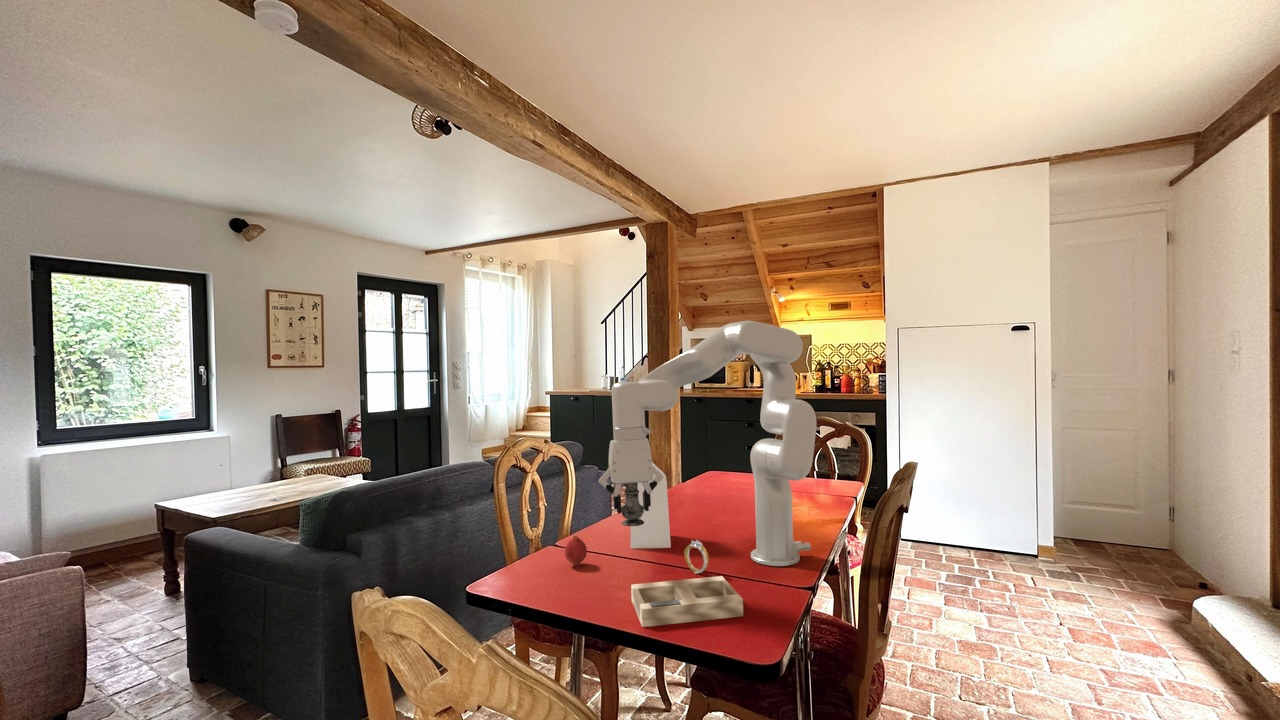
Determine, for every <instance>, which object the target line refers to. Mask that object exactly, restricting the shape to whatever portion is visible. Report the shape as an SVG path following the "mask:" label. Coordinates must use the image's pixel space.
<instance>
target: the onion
mask: <svg viewBox="0 0 1280 720" xmlns="http://www.w3.org/2000/svg"><path fill="white" fill-rule="evenodd" d="M587 549H588V548H587V546H586V543H585V542H584V541H583V540H582V539H581V538H579V537H578V535H576V534H574V535H573V536H572V538H571V539H570V540H569V541H567V543H566V544H565V548H564V556H565V558H566V560H567V561H568V562H569V563H571V564H572V565H573V566H574V567H575V566H578V565H580V564H581V563H582V562H583V561H585V558H586V557H587V554H588V553H587V551H588V550H587Z"/></svg>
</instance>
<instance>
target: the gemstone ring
mask: <svg viewBox="0 0 1280 720" xmlns="http://www.w3.org/2000/svg"><path fill="white" fill-rule="evenodd" d="M693 548H695V549H698V551H699V552H700V554H701V555H702V558H703V565H702V568H700V569H699V568H696V567H694V565H693V564H692V562H691V559H690V550H691V549H693ZM683 552H684V553H683V554H684V559H685V563H686V565H687V566H688V568H689V569H690V570H691V571H692V572H693V573H694V574H700V573H704V572H705V571H706V570H707V568H708V566H709V565H708V564H709V553H708V551H707V549H706V548H705V546H704V545H703V543H702V542H701V541H700V540H698V539H696V540H695V541H694V540H693V539H691V543H690V544H689V545H687V546H685V548H684V551H683Z"/></svg>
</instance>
